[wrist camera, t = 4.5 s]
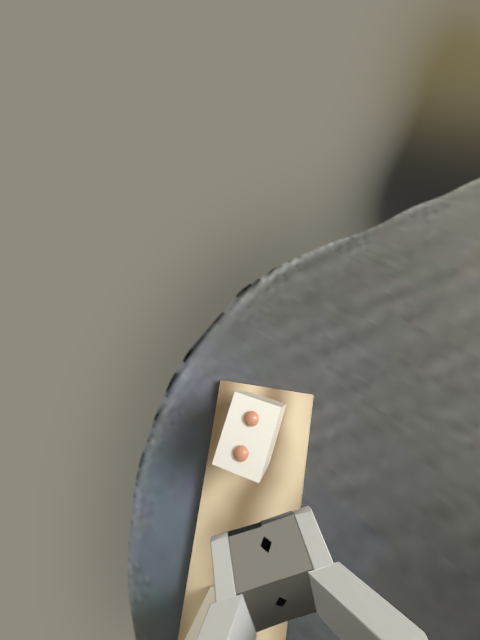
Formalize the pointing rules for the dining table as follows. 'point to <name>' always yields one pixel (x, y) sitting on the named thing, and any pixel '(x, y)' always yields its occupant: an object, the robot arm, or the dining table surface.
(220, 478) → the digit board
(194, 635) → the tile one
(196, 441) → the dining table surface
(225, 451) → the tile two
